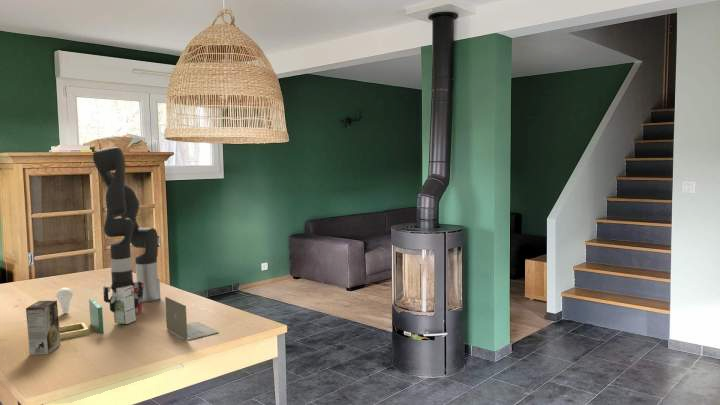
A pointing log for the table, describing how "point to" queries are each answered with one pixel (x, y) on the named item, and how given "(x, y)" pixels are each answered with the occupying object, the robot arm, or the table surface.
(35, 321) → the coffee box
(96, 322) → the tan and teal pieces
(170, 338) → the table surface
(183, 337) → the laptop
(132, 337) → the table surface
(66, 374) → the table surface
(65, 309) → the lightbulb
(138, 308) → the cup
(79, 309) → the table surface
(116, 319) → the syrup box
